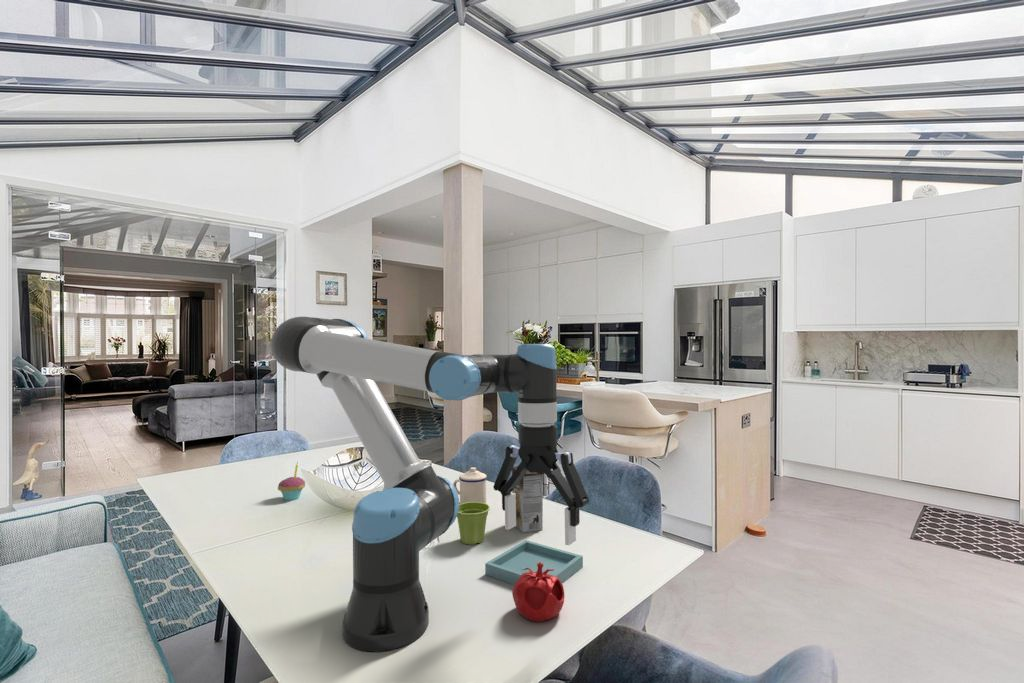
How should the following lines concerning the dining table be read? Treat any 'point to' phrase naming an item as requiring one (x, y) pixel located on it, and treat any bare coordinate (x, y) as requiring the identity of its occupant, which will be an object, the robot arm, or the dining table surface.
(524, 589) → the pomegranate
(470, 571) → the dining table surface
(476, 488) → the teacup with lid
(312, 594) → the dining table surface
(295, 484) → the cupcake
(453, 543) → the dining table surface
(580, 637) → the dining table surface
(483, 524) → the plant pot
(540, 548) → the dish
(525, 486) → the coffee box
